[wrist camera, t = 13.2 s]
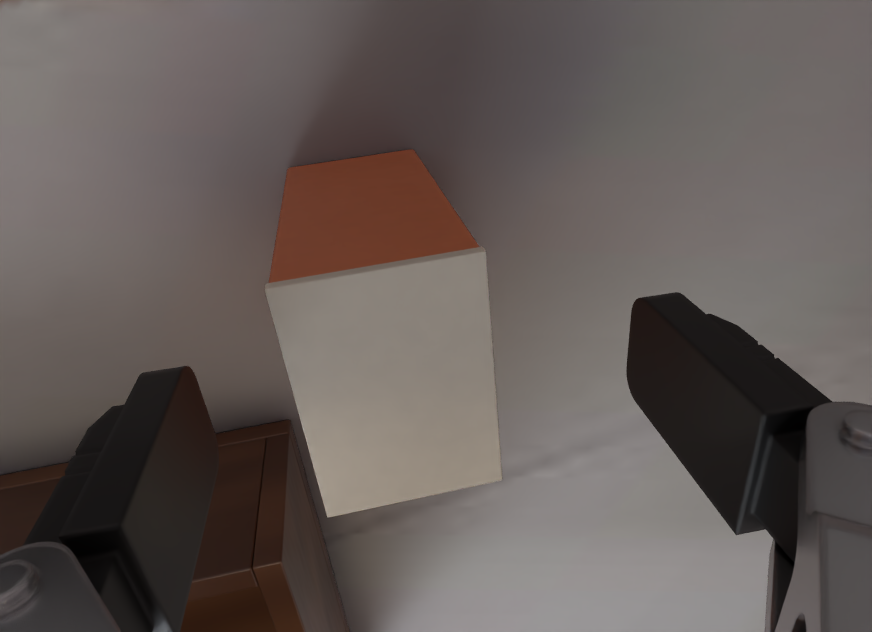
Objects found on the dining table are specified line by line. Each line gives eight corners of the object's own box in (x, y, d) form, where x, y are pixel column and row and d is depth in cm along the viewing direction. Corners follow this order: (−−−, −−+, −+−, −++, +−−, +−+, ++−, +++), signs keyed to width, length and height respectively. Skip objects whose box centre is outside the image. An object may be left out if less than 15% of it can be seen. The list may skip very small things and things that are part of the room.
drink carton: (285, 166, 17) (263, 289, 10) (414, 147, 18) (486, 250, 10) (322, 326, 20) (327, 518, 13) (434, 306, 20) (502, 480, 13)
